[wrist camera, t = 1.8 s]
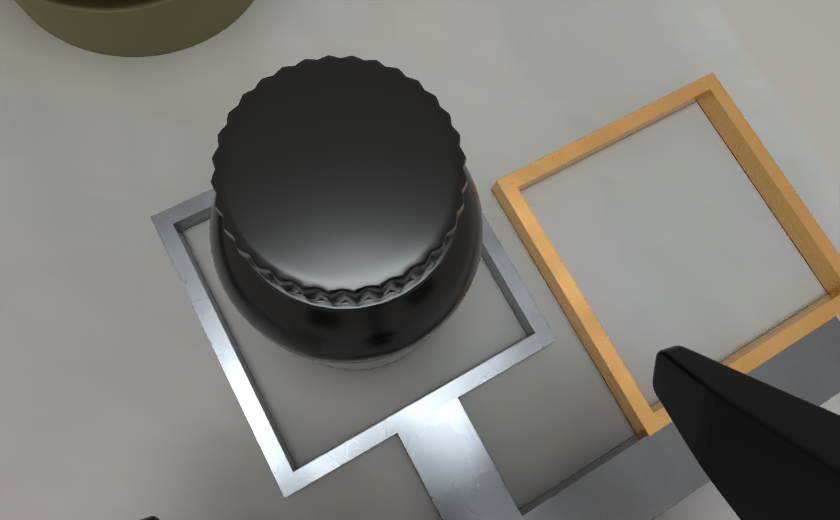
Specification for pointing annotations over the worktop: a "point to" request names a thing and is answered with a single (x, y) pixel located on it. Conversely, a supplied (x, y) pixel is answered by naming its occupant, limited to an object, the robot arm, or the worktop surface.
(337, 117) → the supplement bottle
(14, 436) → the worktop surface
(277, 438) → the silver gold metal frame
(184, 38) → the piston
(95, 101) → the worktop surface
